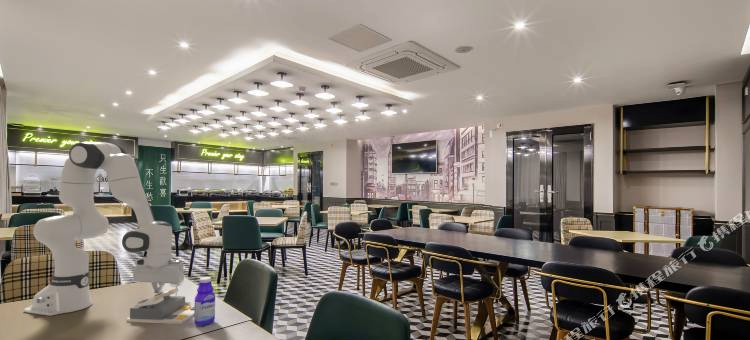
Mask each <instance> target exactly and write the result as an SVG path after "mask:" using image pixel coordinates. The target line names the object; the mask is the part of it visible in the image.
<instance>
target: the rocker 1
mask: <svg viewBox="0 0 750 340" xmlns="http://www.w3.org/2000/svg"><path fill="white" fill-rule="evenodd" d="M148 299H149V298H146V299H142V300H140V301H138V302H137V303H136V305H137V306H138V307H141V306H146V305H152V304H157V303H159V302H161V301H163V300H164V298H163V297H158V298H155V299H149V300H148Z"/></svg>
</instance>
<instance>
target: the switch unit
mask: <svg viewBox="0 0 750 340" xmlns="http://www.w3.org/2000/svg"><path fill="white" fill-rule="evenodd" d="M163 298H164V300H163V301H161V302H159V303H157V304H152V305H146V306H141V307H138V306H137V304H136V305H134V306H132V307H130V308H129V317H127V318H126V321H125V322H129V323H153V324H170V325H171V324H174V325H175V324H176V325H183V324H184V323H186V322H187V321H189V319H191V318H192V317H194V312H195V305H186V296H185V295H184V296H178V295H177V296H176V295H168V296H164V297H163ZM147 299H148V300H149V299H155V298H154V295H153V296H151V297H150V298H147Z"/></svg>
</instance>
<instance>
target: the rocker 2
mask: <svg viewBox="0 0 750 340" xmlns="http://www.w3.org/2000/svg"><path fill="white" fill-rule="evenodd" d="M176 292H177V293H178V292H179V287H177V288H176V287H174V288H172V289H170V290H168V291H167V290H166V291H162V292H161V293H155V295H153V296H154V298H158V297H164V296H168V295H170V296H172V295H174V294H176Z"/></svg>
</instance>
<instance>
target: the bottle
mask: <svg viewBox="0 0 750 340" xmlns="http://www.w3.org/2000/svg"><path fill="white" fill-rule="evenodd" d="M198 283H199V284H198V287H197V288H196V292H197V293H196V295H195V297H194V306H195V312H194V316H193V317H194V320H193V321H194V324H195V325H196V326H198V327H204V326H206V325H209V324H212V323H214V321H215V318H216V294H215V293H214V287H213V285H212V277H211V276H202V277H200V278H199V282H198Z"/></svg>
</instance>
